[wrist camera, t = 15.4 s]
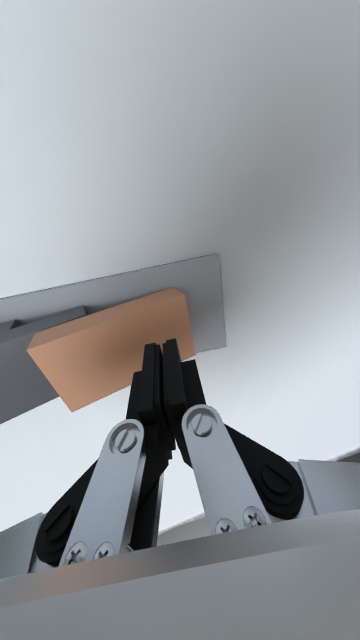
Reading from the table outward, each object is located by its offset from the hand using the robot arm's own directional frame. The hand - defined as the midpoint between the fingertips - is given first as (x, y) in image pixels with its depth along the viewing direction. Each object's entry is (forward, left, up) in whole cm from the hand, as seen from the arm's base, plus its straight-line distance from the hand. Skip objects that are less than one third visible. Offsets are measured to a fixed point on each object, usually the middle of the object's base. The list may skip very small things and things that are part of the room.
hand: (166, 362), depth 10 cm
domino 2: (-1, +1, -4) cm, 5 cm away
